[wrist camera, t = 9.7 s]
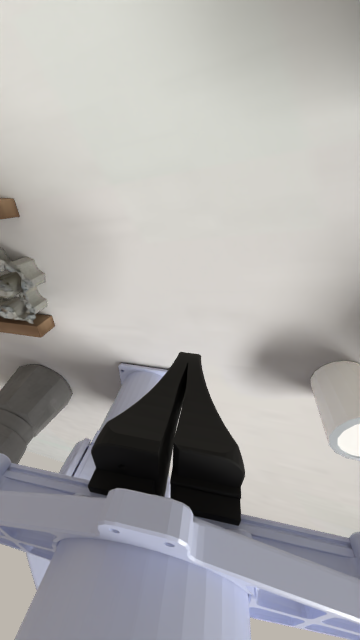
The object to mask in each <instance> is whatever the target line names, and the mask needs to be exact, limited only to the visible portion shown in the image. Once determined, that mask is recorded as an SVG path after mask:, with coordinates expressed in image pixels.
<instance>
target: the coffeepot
mask: <svg viewBox="0 0 360 640" xmlns="http://www.w3.org/2000/svg"><path fill="white" fill-rule="evenodd" d="M72 394H73V393H72V391H71V388H70V386H69V384H68V383H67V382H66V380H65V379H64V378H63V377H62V376H60V375H59V374H58V373H56V372H55V371H53V370H51V369H49V368H47V367H44V366H41V365H34V364H30V365H26V366H21V367H19V368H18V369H17V371H16V372H15V373H14V374H13V376H12V377H11V378H10V379H9V381H8V382H7V383H6V384H5V386H4V387H3V388H2V389H1V391H0V453H2V454H4V455H6V456H7V457H9V459H10V460H11V463H14V464H18V463H19V461H20V459H21V458H22V456H23V454H24V452H25V450H26V448H27V445H28V443H29V442H30V441H31V439H32V438H33V437H35V436H37V434H38V433H39V432H40V431H41V430H42V429H43V428H44V427H45V426H46V425H47V424H48V423H49V422H50V421H51V420H52V419H53V418H54V417H55V416H56V415H57V414H58V413H59V412H60V411H61V410H62V409H63V408H64V407H65V406H66V405H67V404H68V402H69V400H70V398H71V396H72Z"/></svg>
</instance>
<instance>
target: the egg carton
mask: <svg viewBox="0 0 360 640" xmlns="http://www.w3.org/2000/svg"><path fill="white" fill-rule="evenodd" d="M4 270H8V271H9V272H10V273H8V274H5V275H2V276H0V316H2V317H4V318H8V319H15V320H22V321H27V322H29V323H31V324H34V323H33V321H34V320H35V318H36V316H35V314H36V313H38V312H39V311H40V310H42V309H44V308H45V307H47V306H48V304H47V299H45V298H43V297H42V296H41V295H40V294H39V292H38V290H37V285H39V284H41V283H43V282H45V281H46V279H45V273H43V272H42V271H40V270H39V269H38V268H37V266H36V264H35V262H34V259H31V258H28V257H23V258H20V259H18V260H15V261H11V260H10V259H9V258H8V257H7V256H6V254H5V252H4V249H2V248H0V272H3V271H4ZM19 293H20V295H19V297H16V298H14V299H12V300H9V301H8V300H5V299H4V298H11V297H13V296H16V295H17V294H19Z"/></svg>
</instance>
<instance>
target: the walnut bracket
mask: <svg viewBox="0 0 360 640" xmlns="http://www.w3.org/2000/svg"><path fill="white" fill-rule="evenodd" d="M13 217H20V216H19V213H18V210H17V207H16V204H15V201H14V199H11V198H0V219H6V218H13ZM35 316H36V318H35V320H34V321H33V323H34V324H31V323H29V322H27V321H22V320H15V319H8V318H4V317H2V316H0V332H4V333H12V334H19V335H26V336H33V337H42V336H44V335H45V334H46V333H47V332H48V331H50V330H51V329H52V328H53V327H54V326H55V324H54V321H53V318H52V316H50V315H42V314H35Z"/></svg>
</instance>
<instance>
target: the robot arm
mask: <svg viewBox="0 0 360 640" xmlns="http://www.w3.org/2000/svg"><path fill="white" fill-rule="evenodd" d="M118 368H119V374H120V380H121V388H120V390H119V392H118V394H117V396H116V398H115V400H114V402H113V404H112V406H111V408H110V410H109V412H108V414H107V416H106V418H105V420H104V422H103V423H102V425H101V427H100V429H99V431H97V433H96V434H95V436H94V438H93V440H92V442H91V444H90V441H91V440H90V439H88V438H85V439H84V440H82V441H80V442H78V443H77V444H76V445H75V447H74V448H73V450H72V451H71V453H70V454H69V456H68V458H67V460H66V461H65V463H64V465H63V466H62V468H61V470H60V472H59V473H55V472H50V471H46V470H41V469H37V468H32V467H28V466H23V465H19V464H14V463H11V460H10V459H9V457H7V456H6V455H4V454H2V453H0V544H3V545H6V546H10V547H12V548H15V549H18V550H21V551H24V552H26V555H27V559H28V562H29V566H30V569H31V573H32V576H33V579H34V583H35V586H36V590H37V592H36V594H35V596H34V598H33V601H32V603H31V605H30V607H29V609H28V611H27V613H26V616H25V618H24V620H23V622H22V624H21V626H20V629H19V631H18V633H17V635H16V637H15V639H14V640H251V630H250V618H254V619H258V620H263V621H267V622H272V623H277V624H281V625H286V626H290V627H295V628H300V629H304V630H309V631H313V632H318V633H322V634H327V635H331V636H335V637H340V638H345V639H349V640H360V532H355V533H353V534H352V535H351V536H350V537H349V538H347V537H342V536H338V535H333V534H329V533H324V532H320V531H315V530H311V529H306V528H302V527H297V526H293V525H288V524H284V523H280V522H275V521H271V520H266V519H262V518H257V517H253V516H248V515H244V514H241V509H240V499H241V485H242V482H243V480H244V477H245V469H244V464H243V460H242V456H241V453H240V450H239V447H238V445H237V443H236V442H235V440H234V439H233V438H232V436H231V435H230V433H229V431H228V430H227V428H226V427H225V425H224V423H223V421H222V420H221V418H220V416H219V414H218V412H217V410H216V408H215V406H214V404H213V402H212V399H211V397H210V394H209V392H208V389H207V386H206V383H205V379H204V375H203V371H202V365H201V356H200V355H199V354H192V353H184V352H180V353H179V355H178V356H177V358H176V360H175V361H174V363H173V364H172V366H171V367H170V368H169V370H164V369H158V368H151V367H144V366H137V365H130V364H123V363H121V364H120V365H119V367H118ZM182 404H183V405H182ZM181 408H182V410H181ZM180 412H181V414H180ZM179 415H180V418H179ZM178 419H179V422H178ZM177 423H178V426H177ZM176 427H177V430H176ZM175 433H176V434H175ZM172 450H173V469H172V474H171V480H170V477H169V474H168V473H169V467H170V461H171V456H172Z"/></svg>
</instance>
